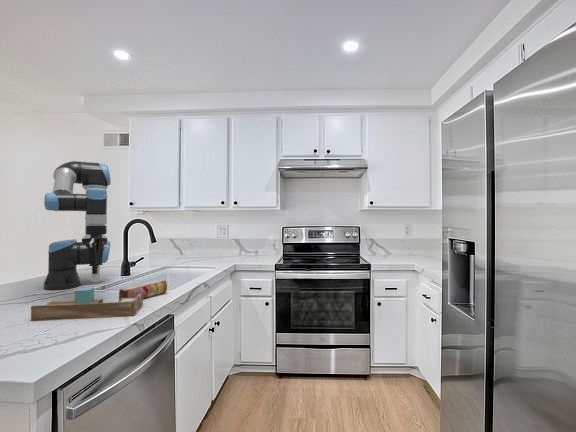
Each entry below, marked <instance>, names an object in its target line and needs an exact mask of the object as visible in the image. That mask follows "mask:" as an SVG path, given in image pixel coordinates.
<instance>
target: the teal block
mask: <svg viewBox="0 0 576 432" xmlns="http://www.w3.org/2000/svg"><path fill="white" fill-rule="evenodd" d="M94 299H95V287H92V286H91V287H79V288H77V289H75V290H74V300H75V304H83V303H90V302H92V301H93V300H94Z"/></svg>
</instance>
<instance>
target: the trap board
mask: <svg viewBox="0 0 576 432" xmlns="http://www.w3.org/2000/svg"><path fill="white" fill-rule="evenodd" d="M143 305H144V299H143V292H141V293H139V295H138V296H137V297H136V298H121V299H120V300H119V299H118V301H117V302H116V301H115V302H114V301H113V302H104V299H103V298H94V300H93V301H92V302H90V303H83V304H75V299H65V300H64V299H63V300H51V301H50V302H48V303H46V304H44V305H42V304H41V305H38V304H37V305H32V306H30V321H31V322H34V321H35V322H36V321H37V322H38V321H39V322H40V321H54V320H55V321H56V320H76V319H79V320H80V319H97V318H113V317H114V318H116V317H117V318H119V317H130V316H131V317H134V316H135V315H136V314H137V312H138V311H139V310H140V308H141V307H142V306H143Z"/></svg>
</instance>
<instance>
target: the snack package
mask: <svg viewBox="0 0 576 432" xmlns="http://www.w3.org/2000/svg"><path fill="white" fill-rule="evenodd" d="M167 289H168V283H167V281H166V279H161V278H159V279H155V280H152V281H151V280H150V281H147V282H142V283H140V284H134V285H131V286H126V287H122V288H120V289H119V292H118V301H119V300H120V299H121V298H136V297H137V296H138V295H139V293H141V292H143V300H145V299H147V298H151V297H155V296H159V295H163V294H165V293H166V292H167Z"/></svg>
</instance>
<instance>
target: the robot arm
mask: <svg viewBox="0 0 576 432" xmlns="http://www.w3.org/2000/svg"><path fill="white" fill-rule="evenodd" d="M52 177H53V180H54V181H53V182H54V183H53V188H52V192H46V193H44V201H43V202H44V208H45V210H46V211H54V212H85V217H84V219H85V221H84V222H85V226H84V230H85V231H84V233H85V235H83V237H82V238H81V241H80V242H79V241H78V240H77V239H66V240H60V241H54V242H51V243H50V244H49V245H48V251H47V254H48V261H47V262H48V265H47V266H48V267H47V268H48V271H47V274H46V276H45V277H46V278H45V280H44V282H43V290H48V291H54V290H55V291H58V290H69V289H74V288H78V287H80V286H81V279H80V276H79V273H78V271H77V266H78V265H79V266H81V265H85V266H86V265H88V266H89V267H91V282H101V266H103V265H104V264H105V263H107V262H108V261H109V257H110V248H111V241H109V240H108V237H107V236H106V234H107V227H108V226H107V224H108V218H107V217H108V216H107V215H108V214H107V209H108V204H107V203H108V192H107V189H108V186H111V174H110V169H109V166H108V165H107V164H106V163H99V162H89V161H88V162H87V161H86V162H85V161H74V160H73V161H68V162H64V163H62V164H60V165H59V166H58V167H56V168H55V170H54V171H53V176H52ZM74 184H79V185H82V187H81V188H83V189H84V190H85V193H74Z"/></svg>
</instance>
